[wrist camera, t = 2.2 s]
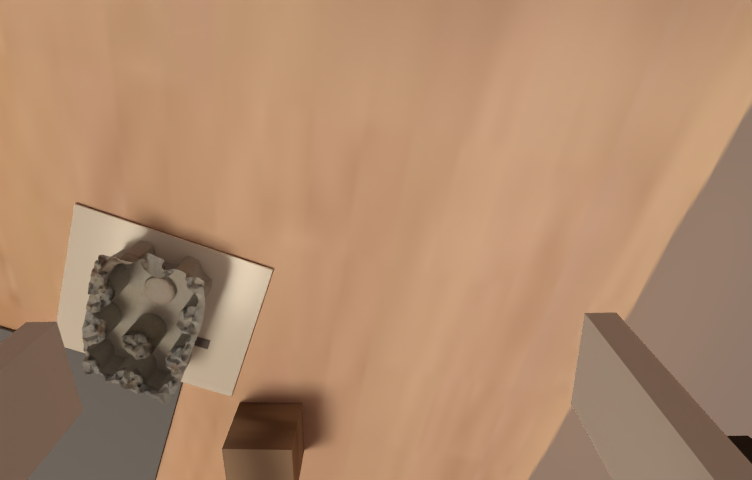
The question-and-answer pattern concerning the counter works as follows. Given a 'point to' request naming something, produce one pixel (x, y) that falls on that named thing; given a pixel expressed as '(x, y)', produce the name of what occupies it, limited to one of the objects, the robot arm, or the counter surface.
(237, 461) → the walnut block
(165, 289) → the egg carton
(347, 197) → the counter surface
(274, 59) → the counter surface
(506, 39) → the counter surface
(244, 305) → the tile
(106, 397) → the slate coaster
